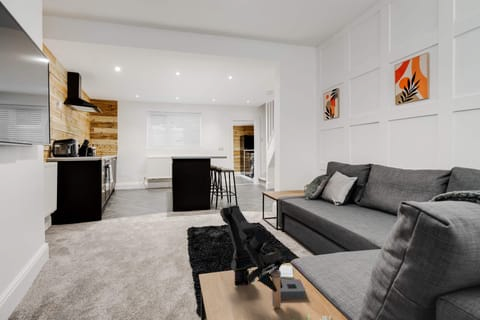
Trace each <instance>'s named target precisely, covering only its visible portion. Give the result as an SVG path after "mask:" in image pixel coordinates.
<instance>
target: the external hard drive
mask: <svg viewBox="0 0 480 320" xmlns="http://www.w3.org/2000/svg"><path fill="white" fill-rule="evenodd" d="M279 271H280V272H281V276H280V279H281V280H289V279H295V275H294V268H293V266H292V265H283V264H282V265H281V266H280V268H279Z"/></svg>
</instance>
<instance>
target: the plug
mask: <svg viewBox="0 0 480 320" xmlns="http://www.w3.org/2000/svg"><path fill="white" fill-rule="evenodd" d="M271 276H272V278H271V280H272V281H273V283H274V285H275V287H276V289H277V291H276V292H274V291H273V290H272V289H271V294H272V295H271V297H272V299H271V300H272V307H273V308H277V309H278V308H280V307H281V306H282V305H281V302H282V301H281V300H282V299H281V292H280V279H281V278H280V276H281V272H280V271H278V270H273V271H271Z"/></svg>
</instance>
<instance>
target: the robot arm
mask: <svg viewBox="0 0 480 320" xmlns="http://www.w3.org/2000/svg"><path fill="white" fill-rule="evenodd" d="M240 208H241V207H240V206H239V205H237V204H234V205H229V206H224V207H222V208H221V209H220V211H219V214H220V217H221V218H222V221H223V222H224V223H225V224H226V226H227V230H228V232H229V236H230V240H231V244H232V246H233V247H232V248H233V250H234V251H233V256H232V261H231V263H230V268H231V270H232V271H233V272H234V285H235V286H236V285H239V286H240V285H249V284H252V283H254V282H255V281H256V279H257V282H260V284H262V285H264V286H265V287H267V288H269V289H270V290H271V291H272V290H273V291H274V292H276V291H277V289H276V287H275V285H274V283H273V281H272V276H271V271H273V270H278V271H279V268H280V266H281V265H283V264H284V263H286V261H285V259H284V257H283V256H281V252H280V250H279V249H278V248H277V247H276V248H273V249H272V250H271V252H269V253H268V251H267V250H265V251H264V250H263V248H264V246H265V245H266V244H267V242H268V240H269V236H268V233H266V231H263V230H262V229H261V227H258V228H256V226H255V225H254V224H253V223H251V222H249V221H248V220H247V218H246V216H245V215H244V213H243V212H242V211H241V210H240ZM246 241H247V242H246ZM243 242H244V244H243ZM245 242H246V243H245ZM253 264H255V266H256V268H255V269H253V270H251V269H252V265H253ZM249 269H250V270H251V271H249ZM281 280H282V278H280V288H282V287H283V286H282V283H281Z"/></svg>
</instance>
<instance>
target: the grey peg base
mask: <svg viewBox="0 0 480 320" xmlns="http://www.w3.org/2000/svg"><path fill="white" fill-rule="evenodd" d="M301 280H302V279H300V278H299V279H298V278H297V279H296V278H294V279H281V283H282V286H283V287H282V288H280V292H281V300H283V299H284V300H287V299H288V300H293V299H306V298H307V291H306V288H305V287H304V285H303V282H302V281H301Z"/></svg>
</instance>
